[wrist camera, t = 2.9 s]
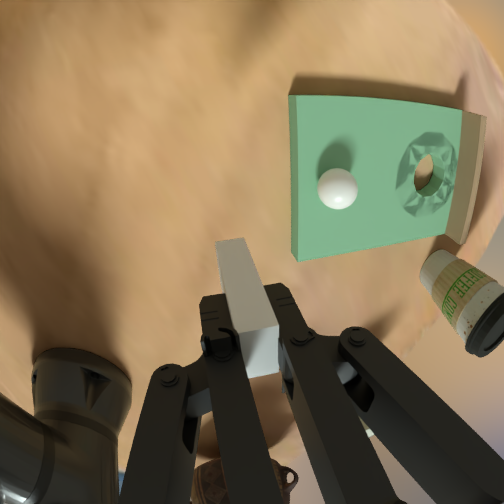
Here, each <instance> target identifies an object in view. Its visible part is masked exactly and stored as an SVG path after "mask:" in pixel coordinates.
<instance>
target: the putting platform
mask: <svg viewBox="0 0 504 504" xmlns="http://www.w3.org/2000/svg"><path fill="white" fill-rule="evenodd" d="M288 98H289V124H290V159H291V253H292V254H293V256H294V257H295V259H296V260H297V262H301V261H306V260H312V259H317V258H323V257H328V256H333V255H339V254H344V253H349V252H355V251H360V250H365V249H370V248H376V247H381V246H386V245H391V244H396V243H401V242H406V241H411V240H416V239H421V238H426V237H431V236H436V235H441V234H446V235H447V236H448V237H450V238H451V239H452V240H454V241H455V242H456V243H458V244H459V245H461V244H465V242H466V238H467V235H468V231H469V227H470V223H471V218H472V214H473V210H474V205H475V200H476V195H477V190H478V184H479V178H480V172H481V166H482V159H483V151H484V142H485V132H486V119H487V117H485V116H482V115H478V114H475V113H471V112H467V111H463V110H459V109H455V108H450V107H444V106H438V105H432V104H426V103H419V102H411V101H403V100H395V99H385V98H374V97H360V96H341V95H288ZM428 154H430V155H431V157H432V160H433V164H434V167H433V175H432V177H431V179H430V181H429V183H428V184H427V185H426V186H425V187H424V188H422V189H421V190H416V189H415V185H414V174H415V169H416V167H417V166H418V164H419V162H420V160H421V159H422V158H424V157H425V156H427V155H428ZM334 168H340V169H344V170H346V171H348V172H350V173H351V174H352V175H353V176H354V178H355V179H356V182H357V185H358V194H357V197H356V199H355V201H354V202H353V203H352V204H351V205H350V206H348V207H347V208H344V209H332V208H330V207H328V206H326V205H325V204H324V203H323V202H322V201H321V200H320V198H319V196H318V192H317V184H318V181H319V179H320V177H321V176H322V174H323V173H325V172H326V171H328V170H330V169H334Z"/></svg>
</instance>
